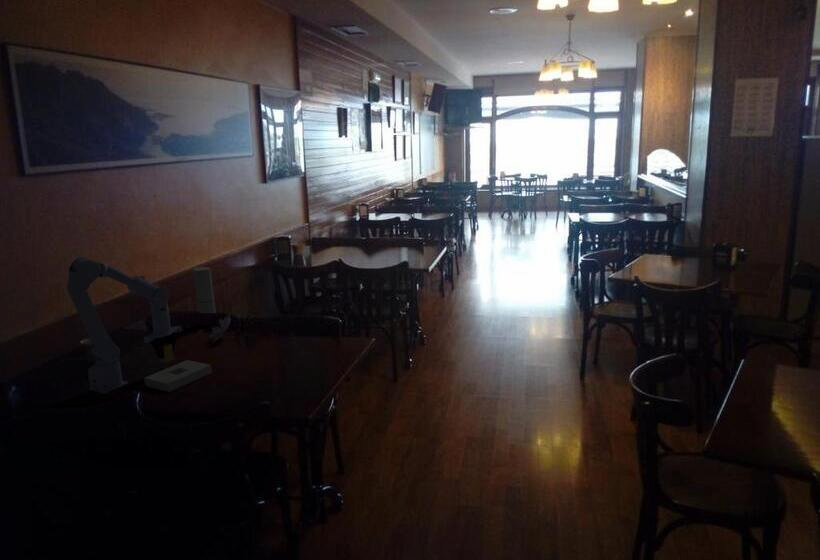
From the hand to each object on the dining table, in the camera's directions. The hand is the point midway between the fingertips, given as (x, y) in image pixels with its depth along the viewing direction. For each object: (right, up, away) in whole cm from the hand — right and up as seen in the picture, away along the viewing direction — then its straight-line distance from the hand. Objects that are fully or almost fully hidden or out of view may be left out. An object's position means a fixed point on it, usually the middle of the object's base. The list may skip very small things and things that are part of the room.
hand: (166, 356), depth 222 cm
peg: (0, -2, 0) cm, 2 cm away
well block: (+8, -7, -9) cm, 14 cm away
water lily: (+10, +3, +33) cm, 34 cm away
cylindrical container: (-2, +8, +55) cm, 55 cm away
